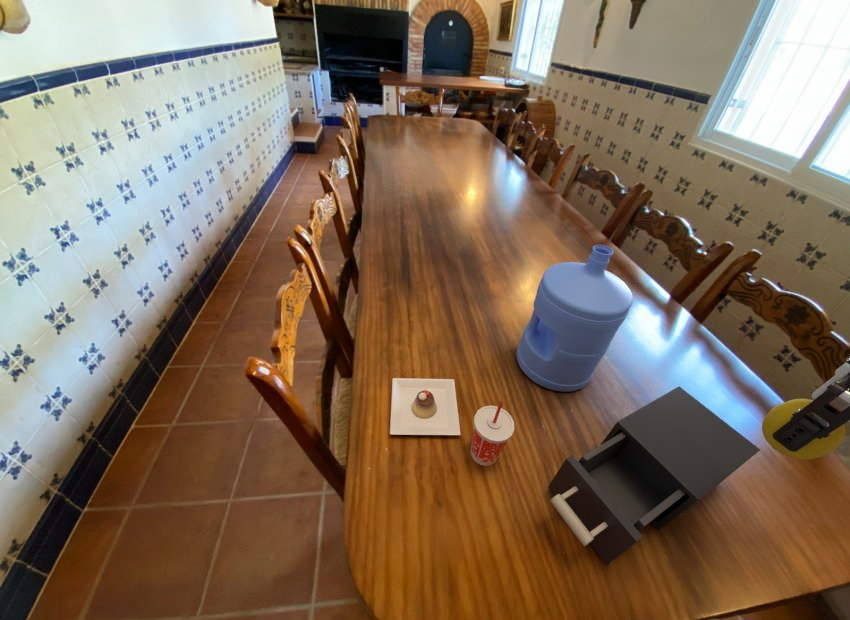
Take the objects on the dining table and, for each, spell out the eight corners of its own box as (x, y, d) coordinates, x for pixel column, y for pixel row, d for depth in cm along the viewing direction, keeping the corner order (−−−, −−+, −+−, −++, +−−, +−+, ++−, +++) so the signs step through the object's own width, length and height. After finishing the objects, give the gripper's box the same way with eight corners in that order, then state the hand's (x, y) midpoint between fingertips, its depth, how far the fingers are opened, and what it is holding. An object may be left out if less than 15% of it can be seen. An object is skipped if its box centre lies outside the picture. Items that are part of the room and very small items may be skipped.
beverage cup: (509, 452, 60) (530, 402, 51) (488, 478, 56) (507, 430, 47) (479, 429, 63) (495, 378, 54) (458, 452, 59) (471, 402, 50)
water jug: (587, 348, 81) (645, 237, 63) (592, 403, 69) (665, 286, 51) (518, 331, 83) (555, 220, 65) (511, 381, 72) (553, 263, 54)
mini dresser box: (584, 583, 46) (611, 562, 40) (526, 500, 53) (542, 472, 48) (672, 512, 53) (706, 486, 48) (611, 448, 61) (633, 418, 55)
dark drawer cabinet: (658, 530, 52) (699, 500, 45) (591, 456, 60) (617, 421, 54) (717, 482, 58) (760, 449, 52) (649, 421, 67) (679, 385, 60)
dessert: (453, 382, 70) (456, 366, 67) (459, 438, 61) (463, 422, 58) (392, 381, 70) (392, 365, 67) (389, 437, 60) (389, 422, 57)
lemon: (734, 427, 43) (782, 385, 37) (775, 425, 43) (828, 384, 38) (773, 473, 38) (833, 433, 33) (817, 470, 39) (883, 431, 34)
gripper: (1011, 379, 22) (806, 494, 33) (1056, 320, 28) (867, 435, 39) (860, 308, 27) (724, 428, 38) (924, 270, 33) (790, 384, 44)
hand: (797, 431), depth 38 cm, fingers closed on lemon, 5 cm apart
